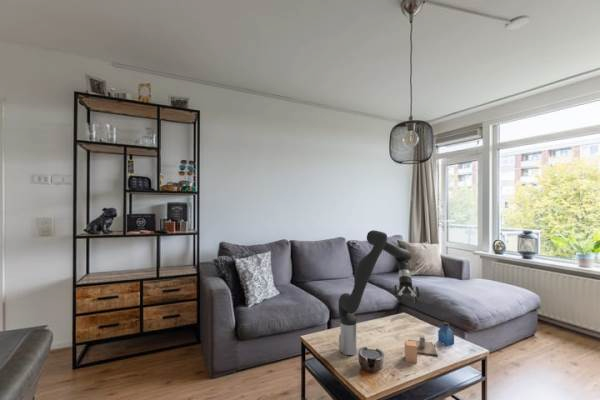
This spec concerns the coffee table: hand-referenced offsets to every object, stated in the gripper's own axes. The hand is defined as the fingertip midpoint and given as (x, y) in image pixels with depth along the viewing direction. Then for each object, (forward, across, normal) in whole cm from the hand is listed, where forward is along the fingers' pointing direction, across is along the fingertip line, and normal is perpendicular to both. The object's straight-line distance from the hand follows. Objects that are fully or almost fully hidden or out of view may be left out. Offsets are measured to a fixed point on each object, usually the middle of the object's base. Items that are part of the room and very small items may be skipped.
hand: (407, 302), depth 166 cm
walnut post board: (+18, +8, +21) cm, 29 cm away
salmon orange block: (+28, 0, +11) cm, 30 cm away
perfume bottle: (+10, +24, +29) cm, 39 cm away
